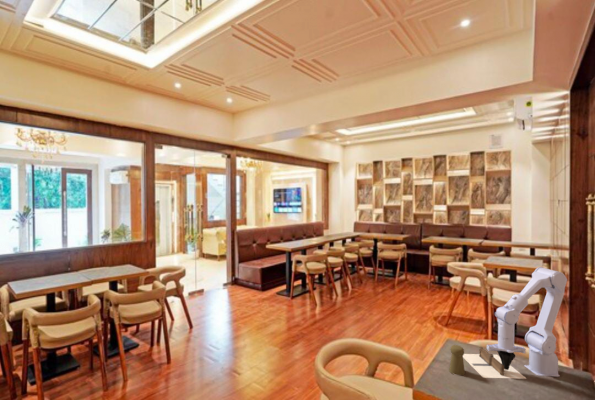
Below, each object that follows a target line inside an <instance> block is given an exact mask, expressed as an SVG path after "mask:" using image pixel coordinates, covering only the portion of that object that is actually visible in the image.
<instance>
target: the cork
mask: <svg viewBox="0 0 595 400" xmlns="http://www.w3.org/2000/svg"><path fill="white" fill-rule="evenodd" d="M450 353H451V357H450V364H449V369H448V372H449V373H450V374H452V375H457V376H464V375H465V373H466V370H465V362H464V358H463V355H464V354H465V349H464V348H463V347H462V346H461V345H458V344H457V345H456V344H453V345H451V346H450Z"/></svg>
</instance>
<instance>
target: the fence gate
mask: <svg viewBox="0 0 595 400" xmlns="http://www.w3.org/2000/svg"><path fill="white" fill-rule="evenodd" d="M492 367H493V368H494V369H495V370H496V371H498V372H499V373H500V375H504V365H503V364H501V363H500V362H499V361H498V360H496V359H495V358H494V357H492Z"/></svg>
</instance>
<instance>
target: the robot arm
mask: <svg viewBox="0 0 595 400" xmlns="http://www.w3.org/2000/svg"><path fill="white" fill-rule="evenodd" d="M567 282H568V278H567V276H566V275H565V274H564V273H563V272H562V271H559V270H558V271H557V270H553V269H549V268H547V267H546V268H545V267H544V266H538V267H537V268H535V270H534V271H533V272H532V273H531V278H530V279H529V281H528V283H526V285H525V286H524V288H523V289H521V291H520V292H519V293H518V294H517V293H516V294H515V293H514V294H513V295H512V296H511V297H510V299H509V300H508V301H507V302H506V303H505V304H504V305H503V306H499V307H497V309H496V311H495V312H494V316H495V317H496V319H497V325H498V326H497V343H493V344H486V350H487V352H492V351H493V352H497V353H498V354H497V355H498V356H499V357H500V359H501V362H502V364H503V365H504V369H505V370H509V367H510V365H511V363H512V362H513V360H514V359H515V358H516V354H515V353H520V354H521V353H522V354H526V353H527V350H526V348H525V347H524V346H519V345H515V324H516V323H517V322H518V321H519V317H520V313H522V311H523V310H524V309H525V308H526V307H528V305H529V301H528V300H529V299H531V298H532V297H533V295H535V294H536V293H537V292H538V291H539V290H540V289H542V288H544V289H545V290H546V295H545V297H544V300H543V303H542V305H541V308H540V312H539V316H538V318H537V322H536V324H535V325H534V326H530V327H529V330H528V331H527V332H526V333H525V336H524V341H525V342H526V344H527V348H529V349H528V351H529V353H528V364H524V365H523V366H524V367H526V369H527V370H529V371H530V372H531V373H533V374H534V375H536V376H539V377H546V376H547V377H557V378H558V377H560V374H559V359H558V356H557V354H556V353H555V352H556V350H557V345H556V342H557V337H556V336H555V334H554V333H553V329H554V326H555V322H556V320H557V316H558V314H559V312H560V309H561V304H562V302H563V298H564V295H565V289H566V285H567Z"/></svg>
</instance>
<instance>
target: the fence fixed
mask: <svg viewBox="0 0 595 400" xmlns="http://www.w3.org/2000/svg"><path fill="white" fill-rule="evenodd" d="M478 352H479V353H478V354H479V356H480V357H482V358H483V359H484V360H485V361H486V362H487V363H488V364H489V365H490V366H492V357H493V355H494V354H492V353H489V351H488V350H487V351H486V350H485V348H483V347H482V346H480V347H479V351H478Z"/></svg>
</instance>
